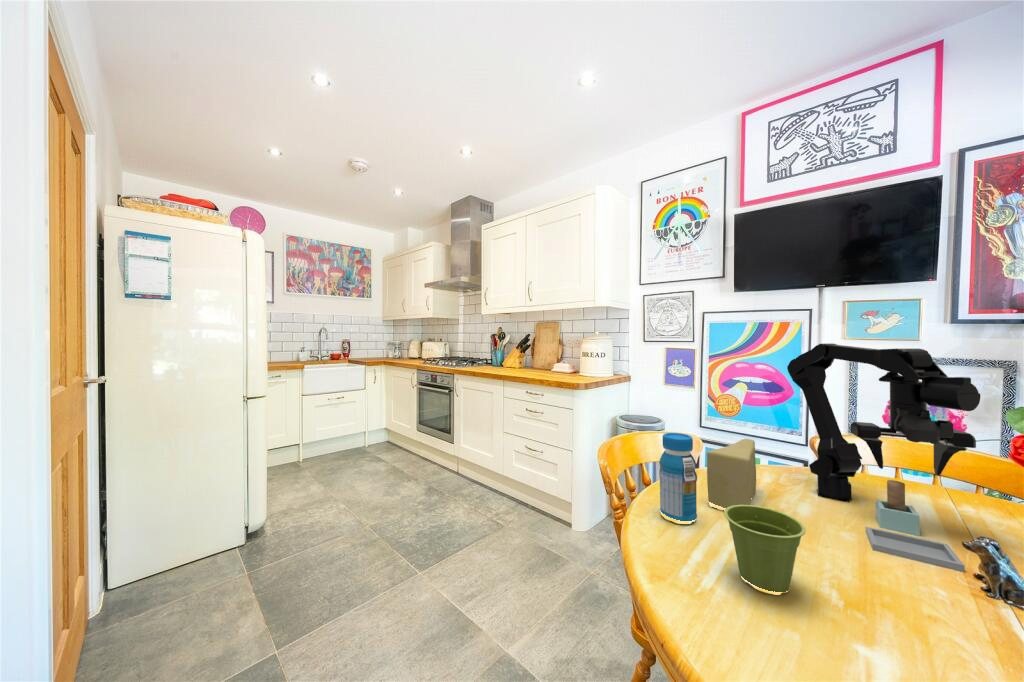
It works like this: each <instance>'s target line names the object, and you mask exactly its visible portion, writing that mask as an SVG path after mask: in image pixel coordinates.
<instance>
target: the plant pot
mask: <svg viewBox="0 0 1024 682" xmlns="http://www.w3.org/2000/svg"><path fill="white" fill-rule="evenodd" d="M723 513H724V514H723V515H724V516H725V519H727V521H728V525H729V530H730V532H731V534H732V535H731V536H732V540H733V545H734V550H735V555H736V562H737V565H738V572H739V575H740V574H741V576H742V577H743V578H744V579H745V580H747V581H748V582H750V583H751V584H753V585H755V586H757V587H759V588H762V589H765V590H768V591H773V592H774V591H775V592H786V591H788V590H789V591H790V589H789V588H791V583H792V577H793V571H794V566H795V562H796V555H797V551H798V547H799V546H800V543H801V538H802V537H803V536H804V535H805V534H806V531H807V529H806V527H805V524H803V523H802V522H801V521H799V520H798V519H796V517H794V516H791V515H789V514H787V513H786V512H785V513H784V512H783V511H778V510H777V509H772V508H768V507H765V506H760V505H753V504H751V505H734V506H730V507H728V508H726V509H725V511H723ZM741 576H740V577H741ZM789 591H788V592H789Z"/></svg>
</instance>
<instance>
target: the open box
mask: <svg viewBox="0 0 1024 682" xmlns="http://www.w3.org/2000/svg"><path fill="white" fill-rule="evenodd" d="M875 520H876V522H877V524H878V525H879V529H882V530H887V531H891V532H896V533H897V532H898V533H901V534H905V535H910V536H915V537H916V536H917V537H920V536H921V534H920V533H921V531H920V530H921V528H920V515H919V513H918V512H917V511H916V509H915V508H914V507H913V505H908V504H905V512H903V511H898V510H893V509H888V507H887V501H885V500H882V499H881V500H880V499H877V498H876V499H875Z"/></svg>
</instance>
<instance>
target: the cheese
mask: <svg viewBox="0 0 1024 682" xmlns="http://www.w3.org/2000/svg"><path fill="white" fill-rule="evenodd" d="M755 444H756V443H755V440H753V439H749V438H743V439H741V440H738V441H737V442H734V443H731V444H729V445H727V446H723V447H721V448H720V447H719V448H714V449H711V450H708V451H707V453H706V457H707V458H706V479H707V480H706V483H707V498H708V499H707V500H708V501H709V502H711V503H713V504H715V505H718V506H721V507H723V508H728V507H730V506H734V505H752V500H751V498H752V497H753V495H754V496H755V494H754V493H756V490H757V466H756V465H757V464H756V445H755ZM753 498H754V497H753ZM753 498H752V499H753ZM708 501H707V502H708Z"/></svg>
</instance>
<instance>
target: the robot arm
mask: <svg viewBox="0 0 1024 682" xmlns="http://www.w3.org/2000/svg"><path fill="white" fill-rule="evenodd" d="M835 360H840V361H845V362H846V361H847V362H853V363H861V364H868V365H872V366H874V367H876V368H878V369H880V370H882V371H886V373H885V374H884V375H883V376H881V377H879V378H878V381H879V382H883V383H886V382H887V383H889V404H888V405H887V406H888V407H887V409H888V410H889V421H888V423H887V425H888V427H881V426H879V425H877V424H876V423H875V424H874V423H873V422H864V421H863V422H862V421H852V422H851V423H850V430H849V431H850V433H851V434H852V435H854V436H855V437H857V438H859V439H861V440H862V441H864V442H865V443H866V445H867V447H869V450H870V451H871V453H872V455H873V457H874V460H875V462H876V465H877V467H878V468H879V469H884V457H883V450H882V446H883V442H884V441H883V440H881V439H880V437H881V436H886V437H896V438H897V437H898V438H905V439H906V440H907V441H909V442H912V443H927V444H928V443H929V444H932V445H933V470H934V475H936V476H937V477H939V476H941V474H942V473H943V471H944V469H945V468H946V466H947V465H948V462H949V461H950V459H952V457H953V456H954V455H956V454H957V453H959V452H965V451H967V448H969V449H975V448H977V439H976V438H975V436H974V435H973V434H971V433H969V432H966V431H963V430H961V429H955V428H954V423H953V422H952V421H950V420H943V419H941V420H939V419H937V420H932V418H931V413H930V410H929V409H927V408H928V406H929V407H934V408H941V409H948V410H956V411H963V412H972V411H974V410H976V409H977V407H978V406H979V404H980V402H981V393H979V389H978V388H977V387H976V385H975V384H973V383H972V378H971V377H968V376H955V377H954V376H948V375H947V374H946V373H945V372H944V371H943V370H942V369H941V368H940V367H939V365H938V364H936V363H935V361H934V360H933V358H932V355H931V354H930V353H929V351H927V350H925V349H922V348H870V347H862V346H861V347H860V346H849V345H842V344H841V345H840V344H836V343H819V344H816V345H815V346H814V347H812V348H811V349H810V350H808V351H806V352H804V353H802V354H800V355H797V357H795V358H793V359H792V360H790V362H789V363H788V365H787V366H786V369H787V372H788V375H789V376H790V378H791V379H792V381H793V383H794V384H796V386H797V387H799V388H800V389H801V390H802V393H803V396H804V399H805V402H806V404H807V406H808V411H809V412H810V415H811V418H812V421H813V423H814V426H815V429H816V432H817V435H818V438H819V441H818V445H817V449H816V452H817V453H816V454H817V459H816V460H814V461H812V463H809V465H808V467H809V470H810V472H811V474H814V475H816V476H817V480H816V481H817V485H816V486H817V489H816V494H817V496H818V497H819V498H824V499H828V500H832V501H833V500H834V501H840V502H844V503H851V501H853V500H852V483H851V482H850V481H849V478H855V476H856V474H857V471H859V470H860V468H861V467H862V461H861V460H863V457H862V456H861V455H860V452H859V449H858V446H857V444H856V443H855V442H852V443H851V442H848V441H847V440H846V439H845V438H844V437H843V434H842V432H841V429H840V427H839V424H838V421H837V418H836V416H835V414H834V410H833V408H832V405H831V403H830V400H829V397H828V394H827V392H826V390H825V383H826V380H827V375H826V370H827V369H829V368H830V367H831V366H832V364H833V363H834V361H835ZM920 380H921V381H920ZM927 405H928V406H927Z"/></svg>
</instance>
